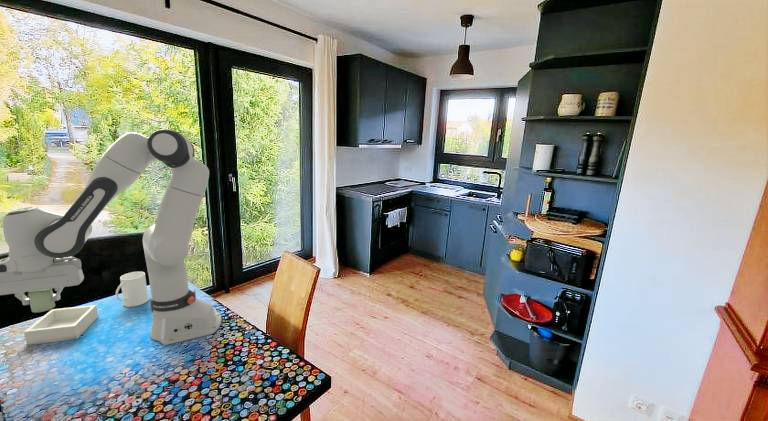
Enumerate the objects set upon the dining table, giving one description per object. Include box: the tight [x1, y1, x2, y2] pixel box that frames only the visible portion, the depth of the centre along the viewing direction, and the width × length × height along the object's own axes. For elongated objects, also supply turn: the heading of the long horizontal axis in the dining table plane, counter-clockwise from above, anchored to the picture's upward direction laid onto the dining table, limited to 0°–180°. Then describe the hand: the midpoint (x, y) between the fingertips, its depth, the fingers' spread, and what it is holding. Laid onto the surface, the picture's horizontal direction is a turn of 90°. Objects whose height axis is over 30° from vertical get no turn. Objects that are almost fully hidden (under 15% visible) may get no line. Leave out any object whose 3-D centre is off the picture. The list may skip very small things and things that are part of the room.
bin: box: [23, 304, 99, 346], centre depth 109 cm, size 13×14×5 cm
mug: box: [115, 271, 150, 308], centre depth 127 cm, size 12×8×12 cm
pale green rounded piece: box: [27, 288, 56, 314], centre depth 96 cm, size 5×5×6 cm
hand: (42, 301), depth 96 cm, fingers closed on pale green rounded piece, 5 cm apart
